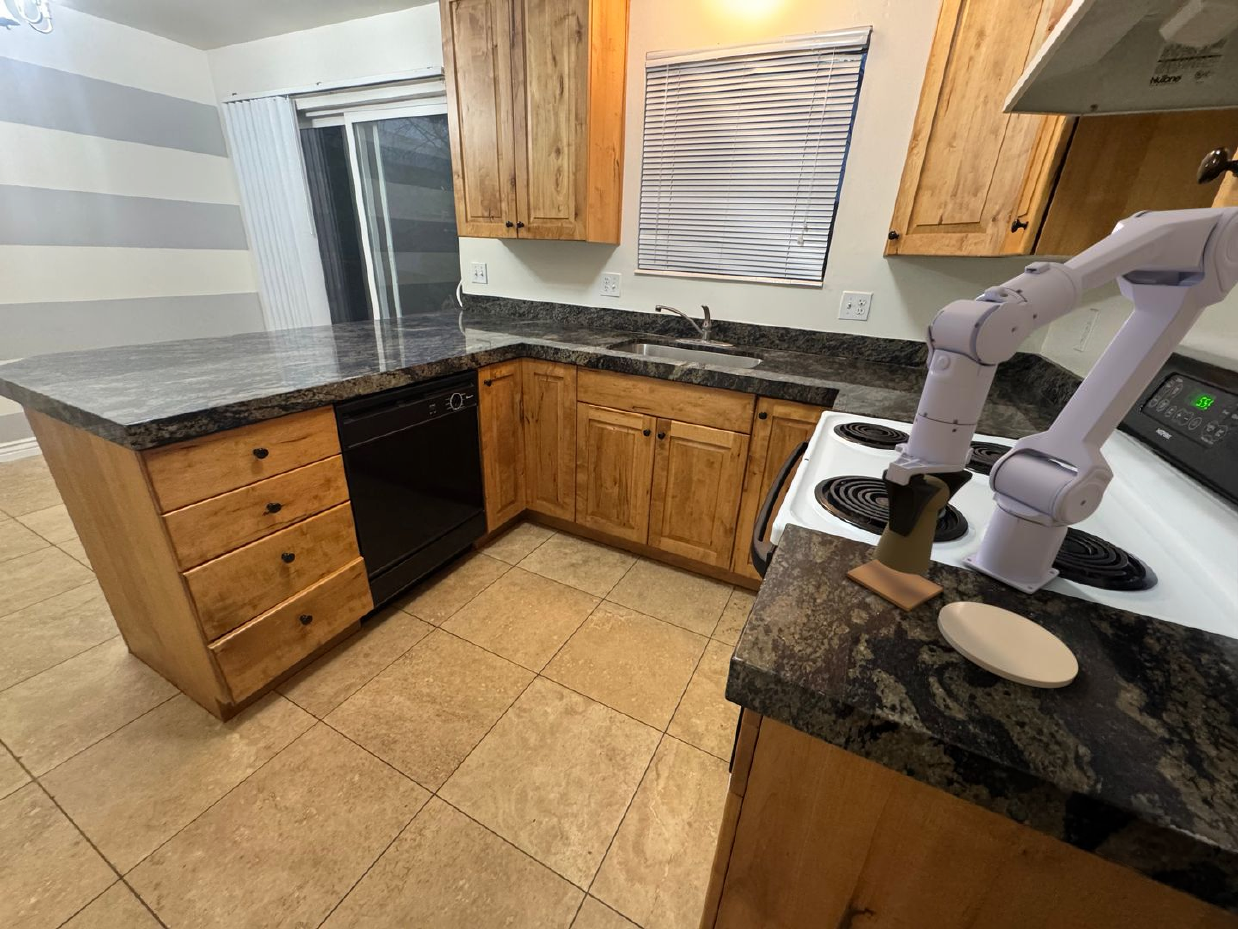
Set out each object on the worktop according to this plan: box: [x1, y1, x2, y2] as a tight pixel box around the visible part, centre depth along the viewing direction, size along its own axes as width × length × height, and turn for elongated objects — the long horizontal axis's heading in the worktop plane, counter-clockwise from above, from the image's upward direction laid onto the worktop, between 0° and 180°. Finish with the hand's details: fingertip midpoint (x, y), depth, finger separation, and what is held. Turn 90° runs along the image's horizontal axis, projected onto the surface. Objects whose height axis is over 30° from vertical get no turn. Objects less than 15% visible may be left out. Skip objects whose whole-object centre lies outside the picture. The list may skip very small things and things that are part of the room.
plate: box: [937, 601, 1079, 689], centre depth 52 cm, size 12×12×1 cm
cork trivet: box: [845, 558, 944, 612], centre depth 62 cm, size 8×8×1 cm
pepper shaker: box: [873, 474, 950, 575], centre depth 58 cm, size 6×6×11 cm
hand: (911, 527), depth 59 cm, fingers closed on pepper shaker, 5 cm apart
